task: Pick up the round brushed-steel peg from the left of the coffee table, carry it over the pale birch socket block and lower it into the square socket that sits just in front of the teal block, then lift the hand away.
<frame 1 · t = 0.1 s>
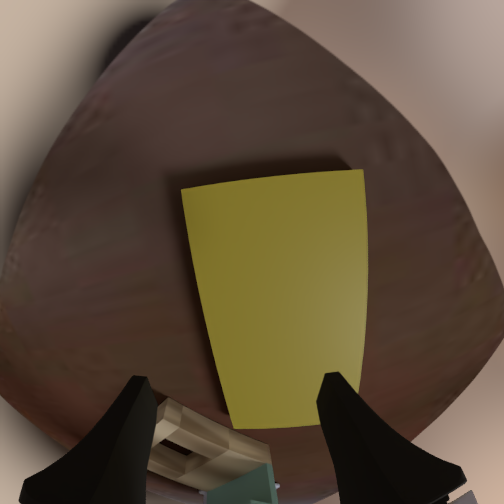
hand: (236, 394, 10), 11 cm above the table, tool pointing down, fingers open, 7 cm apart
flat olive board: (287, 326, 22), on the table
socket block: (193, 445, 24), on the table
teal block: (227, 498, 20), on the socket block, point 6 cm above the table
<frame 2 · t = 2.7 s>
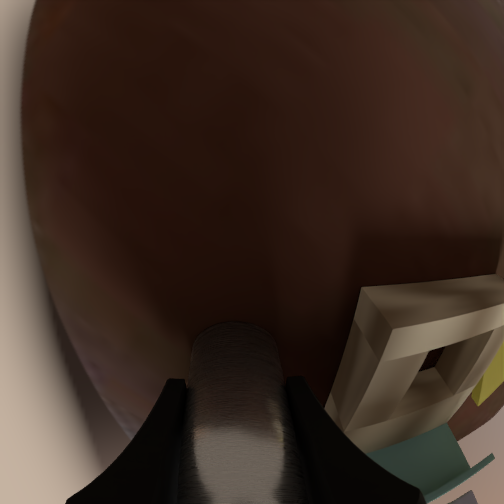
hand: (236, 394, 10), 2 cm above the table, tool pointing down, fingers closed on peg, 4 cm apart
socket block: (409, 367, 14), on the table
peg: (234, 354, 12), on the table, touching gripper
teal block: (413, 471, 10), on the socket block, point 6 cm above the table
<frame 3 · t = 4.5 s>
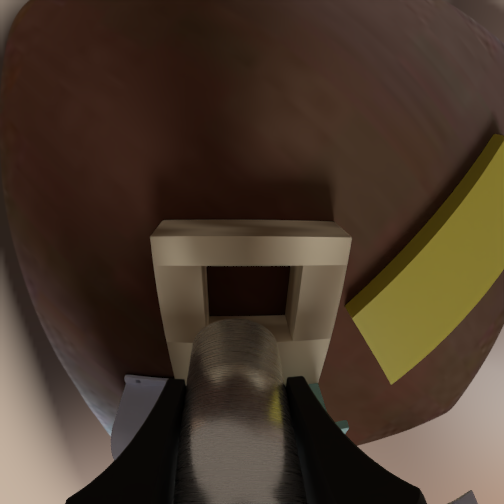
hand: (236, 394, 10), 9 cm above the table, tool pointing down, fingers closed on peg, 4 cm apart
flat olive board: (446, 262, 20), on the table
socket block: (247, 307, 19), on the table
peg: (234, 351, 12), point 7 cm above the table, touching gripper
when the fingers open (4 cm above the table, at t = 6.3 s): peg drops 1 cm, resting in socket block.
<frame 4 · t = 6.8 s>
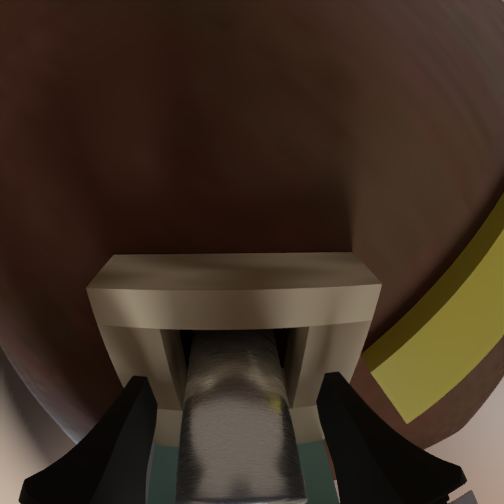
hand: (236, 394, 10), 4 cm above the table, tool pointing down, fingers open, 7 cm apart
flat olive board: (479, 289, 15), on the table
socket block: (235, 360, 14), on the table
peg: (233, 332, 13), resting in socket block
teal block: (241, 485, 11), on the socket block, point 6 cm above the table
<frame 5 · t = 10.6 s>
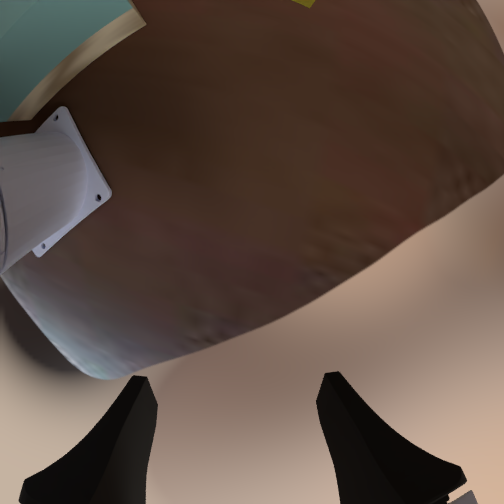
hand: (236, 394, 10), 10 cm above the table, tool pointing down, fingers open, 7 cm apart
socket block: (58, 20, 10), on the table
teal block: (24, 37, 6), on the socket block, point 6 cm above the table
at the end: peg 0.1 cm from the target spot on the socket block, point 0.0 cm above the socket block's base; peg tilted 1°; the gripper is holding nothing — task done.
